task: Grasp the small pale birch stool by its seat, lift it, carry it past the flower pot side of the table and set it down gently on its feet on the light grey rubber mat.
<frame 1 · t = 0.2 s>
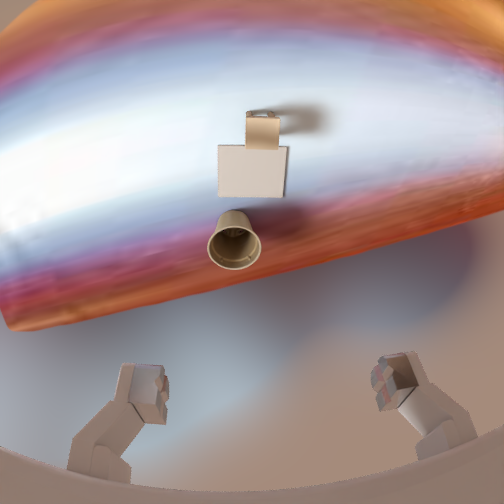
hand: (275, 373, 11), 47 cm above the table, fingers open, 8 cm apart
stool: (259, 123, 50), on the table
mat: (251, 171, 55), on the table
flower pot: (234, 222, 62), on the table
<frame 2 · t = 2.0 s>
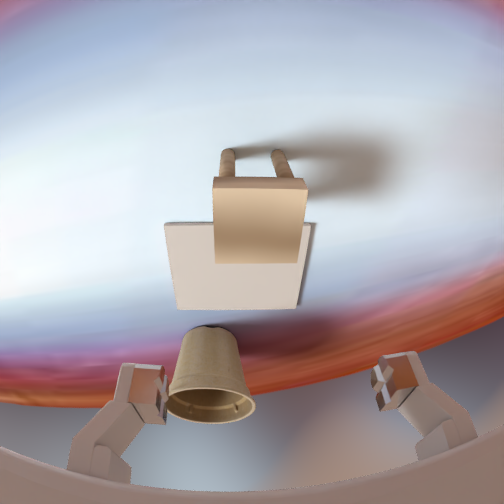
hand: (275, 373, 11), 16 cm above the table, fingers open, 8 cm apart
stool: (251, 177, 23), on the table
mat: (237, 269, 28), on the table
flower pot: (210, 340, 35), on the table
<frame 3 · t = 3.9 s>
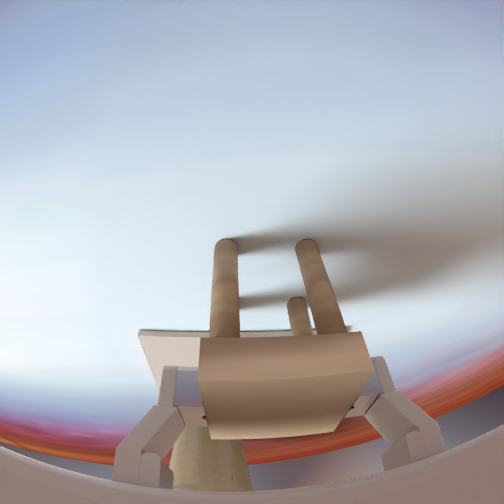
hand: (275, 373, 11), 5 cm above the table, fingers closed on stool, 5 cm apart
stool: (264, 278, 15), on the table, touching gripper
mat: (241, 376, 20), on the table
flower pot: (209, 428, 27), on the table
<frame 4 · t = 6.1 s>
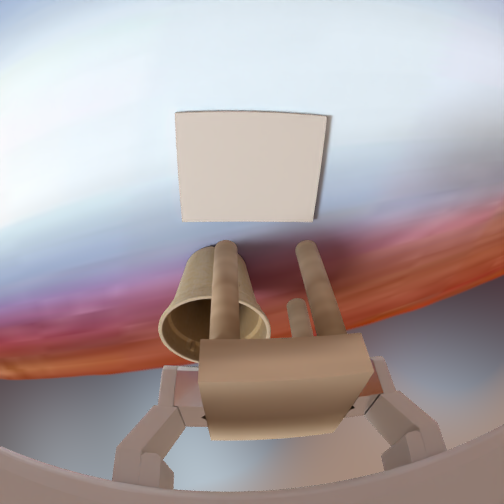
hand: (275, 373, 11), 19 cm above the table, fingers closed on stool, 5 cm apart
stool: (264, 279, 15), point 14 cm above the table, touching gripper
mat: (249, 168, 26), on the table
flower pot: (217, 268, 32), on the table
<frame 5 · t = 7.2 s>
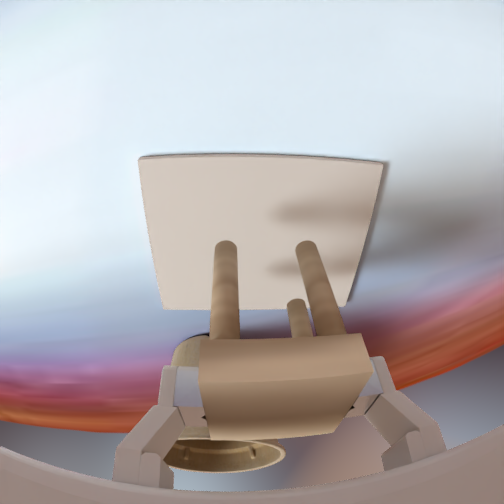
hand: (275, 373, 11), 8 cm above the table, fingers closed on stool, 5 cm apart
stool: (264, 280, 15), point 3 cm above the table, touching gripper
mat: (259, 241, 17), on the table
flower pot: (214, 354, 24), on the table
when the fingers open (6 cm above the table, at t = 8.3 s): stool stays where it is, resting on mat.
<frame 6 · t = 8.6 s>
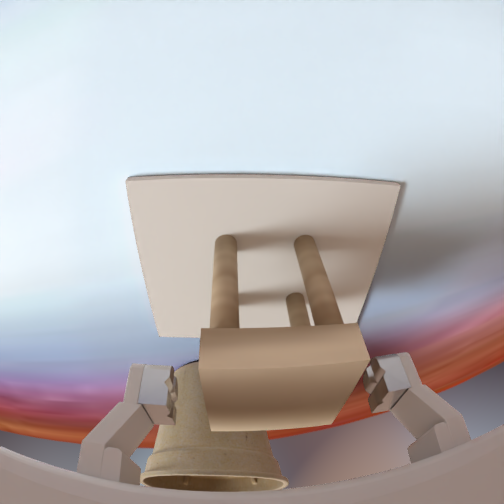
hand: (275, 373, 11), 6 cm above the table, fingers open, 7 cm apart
stool: (263, 274, 15), resting on mat
mat: (262, 268, 16), on the table
flower pot: (213, 378, 22), on the table
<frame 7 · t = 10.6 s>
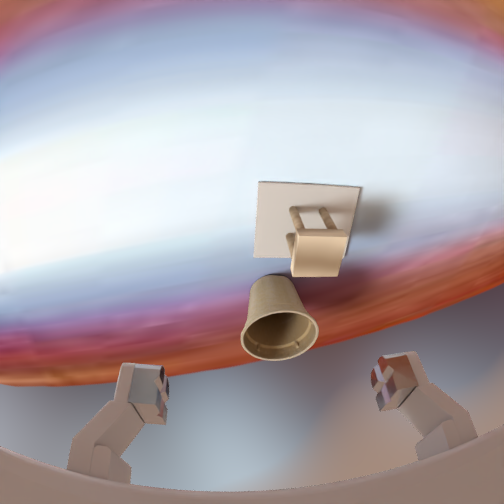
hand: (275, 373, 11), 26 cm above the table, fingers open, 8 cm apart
stool: (305, 223, 37), resting on mat
mat: (305, 222, 38), on the table
flower pot: (272, 290, 44), on the table
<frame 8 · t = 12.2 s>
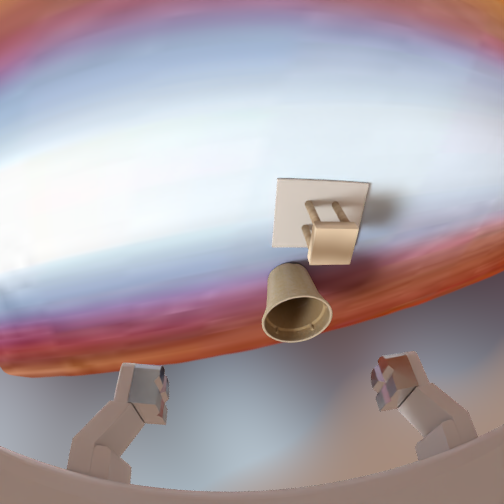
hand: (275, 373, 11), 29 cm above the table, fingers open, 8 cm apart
stool: (320, 216, 40), resting on mat
mat: (319, 214, 41), on the table
flower pot: (288, 277, 47), on the table
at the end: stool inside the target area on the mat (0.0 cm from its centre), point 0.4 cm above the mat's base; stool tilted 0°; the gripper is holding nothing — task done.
